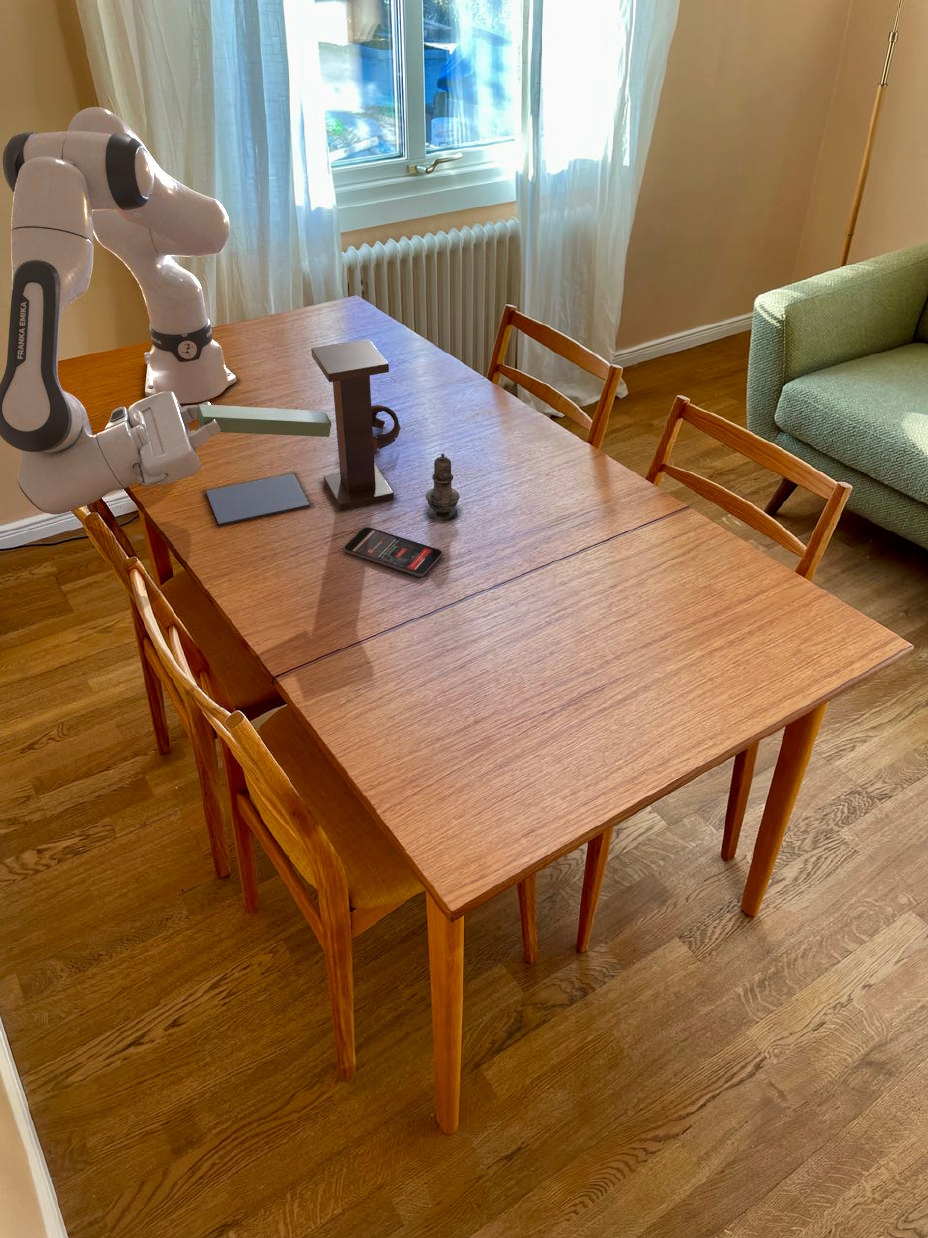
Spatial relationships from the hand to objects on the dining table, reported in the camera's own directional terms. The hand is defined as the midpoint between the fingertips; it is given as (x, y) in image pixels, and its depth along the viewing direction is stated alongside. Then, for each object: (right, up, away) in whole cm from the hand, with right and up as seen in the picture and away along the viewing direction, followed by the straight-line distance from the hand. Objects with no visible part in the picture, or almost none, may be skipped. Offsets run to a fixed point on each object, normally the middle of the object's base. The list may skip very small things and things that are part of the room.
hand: (215, 415), depth 143 cm
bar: (+7, -1, +4) cm, 8 cm away
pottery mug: (+19, +4, +40) cm, 45 cm away
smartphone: (+26, -20, +13) cm, 35 cm away
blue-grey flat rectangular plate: (+1, -10, +24) cm, 26 cm away
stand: (+19, -8, +27) cm, 34 cm away
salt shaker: (+34, -12, +22) cm, 42 cm away
